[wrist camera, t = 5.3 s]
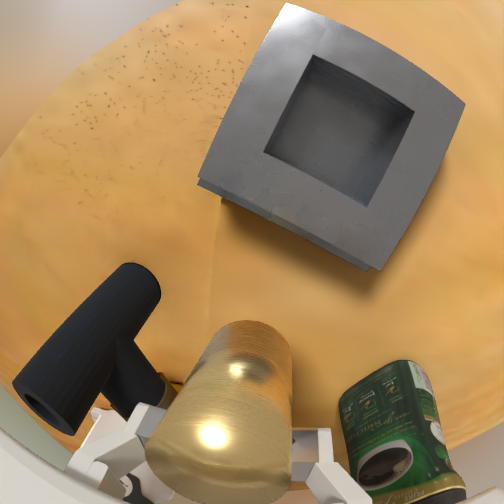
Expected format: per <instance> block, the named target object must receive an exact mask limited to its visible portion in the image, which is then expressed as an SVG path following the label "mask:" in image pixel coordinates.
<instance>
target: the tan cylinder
mask: <svg viewBox="0 0 504 504" xmlns="http://www.w3.org/2000/svg"><path fill="white" fill-rule="evenodd" d="M145 458H146V461H147V463H148V465H149V467H150V469H151V470H152V472H153V473H154V474H155V475H156V476H157V478H158V479H159V480H160V481H162V482H163V483H164V484H165V485H166V486H168V487H169V488H170V489H172V490H173V491H175V492H177V493H178V494H180V495H182V496H184V497H186V498H188V499H191V500H193V501H196V502H199V503H202V504H269V503H272V502H274V501H275V500H277V499H279V498H280V497H282V495H284V494H285V493H286V491H287V490H288V489H289V487H290V484H291V475H292V356H291V350H290V347H289V345H288V343H287V341H286V340H285V338H284V337H283V336H282V335H281V334H280V333H279V332H278V331H277V330H276V329H274V328H273V327H271V326H269V325H267V324H264V323H261V322H258V321H251V320H244V321H237V322H233V323H230V324H228V325H226V326H224V327H223V328H221V329H220V330H219V331H218V332H217V333H216V334H215V335H214V337H213V338H212V340H211V342H210V343H209V345H208V346H207V348H206V350H205V351H204V353H203V354H202V356H201V358H200V359H199V361H198V362H197V364H196V365H195V367H194V369H193V370H192V372H191V373H190V375H189V377H188V378H187V380H186V381H185V383H184V384H183V386H182V388H181V389H180V391H179V392H178V394H177V395H176V397H175V399H174V400H173V402H172V403H171V405H170V406H169V408H168V410H167V411H166V413H165V414H164V416H163V417H162V419H161V420H160V422H159V424H158V425H157V427H156V428H155V430H154V431H153V433H152V434H151V436H150V438H149V439H148V441H147V443H146V445H145Z"/></svg>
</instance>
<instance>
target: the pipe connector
mask: <svg viewBox="0 0 504 504" xmlns="http://www.w3.org/2000/svg"><path fill="white" fill-rule="evenodd" d="M160 299H161V288H160V285H159V283H158V281H157V279H156V278H155V276H154V275H153V274H152V273H151V272H150V271H149V270H148V269H147V268H145V267H144V266H142V265H139V264H137V263H124V264H122V265H121V266H120V267H119V268H118V269H116V270H115V271H114V272H113V273H112V274H111V275H110V276H109V277H108V278H107V279H106V280H105V281H104V282H103V283H102V284H101V285H100V286H99V287H98V288H97V289H96V290H95V291H94V292H93V293H92V294H91V295H90V296H89V297H88V298H87V299H86V300H85V301H84V302H83V303H82V304H81V305H80V306H79V307H78V308H77V309H76V310H75V311H74V312H73V313H72V314H71V315H70V316H69V317H68V318H67V319H66V320H65V322H64V323H63V324H62V325H61V326H60V327H59V328H58V329H57V330H56V331H55V332H54V333H53V335H52V336H51V337H50V338H49V339H48V340H47V341H46V342H45V343H44V345H43V346H42V347H41V348H40V349H39V350H38V351H37V353H36V354H35V355H34V356H33V357H32V358H31V360H30V361H29V362H28V363H27V364H26V366H25V367H24V368H23V369H22V370H21V372H20V373H19V374H18V375H17V377H16V378H15V379H14V380H13V382H12V384H13V387H14V389H15V390H16V392H17V393H18V395H19V396H20V397H21V399H22V400H23V401H24V402H25V403H26V404H27V405H28V406H29V407H30V409H31V410H33V411H34V412H35V413H36V414H37V415H38V416H39V417H40V418H42V419H43V420H44V421H45V422H47V423H48V424H49V425H51V426H52V427H54V428H55V429H57V430H59V431H60V432H62V433H64V434H67V435H70V436H74V435H75V433H76V432H77V430H78V428H79V427H80V425H81V423H82V421H83V420H84V418H85V416H86V415H87V413H88V411H89V410H90V408H91V406H92V405H93V403H94V401H95V400H96V398H97V396H98V395H99V393H100V392H101V393H102V394H103V395H104V396H105V397H106V398H107V399H108V400H109V402H110V403H111V405H110V406H111V407H112V408H113V409H114V410H115V411H116V412H117V413H118V414H119V415H120V416H121V417H122V418H123V419H124V420H125V421H126V422H127V421H128V420H129V418H130V416H131V414H132V413H133V411H134V409H135V407H136V406H137V404H139V403H140V402H141V403H144V404H148V405H152V406H155V407H159V408H162V409H166V410H167V408H168V407H169V406H170V405H171V403H172V402H173V400H174V399H175V397H176V395H177V394H178V392H177V391H176V390H175V388H174V387H173V386H172V385H171V383H170V382H169V381H168V380H167V378H166V377H165V376H164V375H163V373H162V372H160V373H157V372H156V370H155V369H154V368H153V367H152V365H151V364H150V363H149V361H148V360H147V359H146V357H145V356H144V354H143V353H142V352H141V350H140V349H139V347H138V346H137V345H136V343H135V342H134V338H135V337H136V335H137V334H138V332H139V331H140V329H141V328H142V326H143V325H144V323H145V322H146V320H147V319H148V317H149V316H150V315H151V313H152V312H153V310H154V309H155V307H156V306H157V304H158V303H159V301H160Z"/></svg>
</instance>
